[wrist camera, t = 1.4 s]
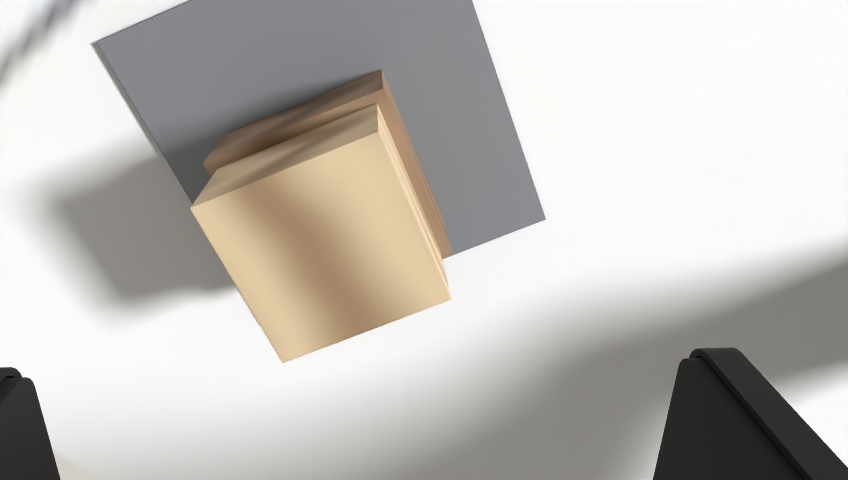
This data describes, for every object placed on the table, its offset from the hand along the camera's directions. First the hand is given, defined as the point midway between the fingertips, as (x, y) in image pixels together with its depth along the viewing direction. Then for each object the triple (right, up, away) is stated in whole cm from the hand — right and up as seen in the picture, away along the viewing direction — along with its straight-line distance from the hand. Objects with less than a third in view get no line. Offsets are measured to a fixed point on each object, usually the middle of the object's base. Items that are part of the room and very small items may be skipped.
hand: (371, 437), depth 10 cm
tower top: (-4, +4, +21) cm, 22 cm away
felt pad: (-4, +9, +25) cm, 27 cm away
